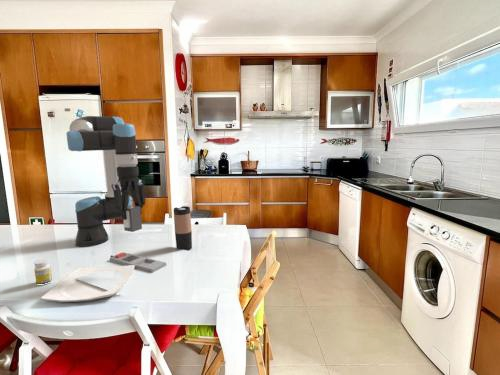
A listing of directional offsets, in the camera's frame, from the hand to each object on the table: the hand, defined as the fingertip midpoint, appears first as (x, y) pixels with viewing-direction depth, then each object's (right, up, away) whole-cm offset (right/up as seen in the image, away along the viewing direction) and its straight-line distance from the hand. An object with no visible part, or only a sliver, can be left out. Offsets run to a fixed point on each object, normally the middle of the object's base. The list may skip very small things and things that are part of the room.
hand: (132, 225), depth 110 cm
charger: (0, -2, 0) cm, 2 cm away
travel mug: (+14, -15, +25) cm, 33 cm away
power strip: (-3, -18, +9) cm, 20 cm away
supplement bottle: (-30, -21, -5) cm, 37 cm away
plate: (-10, -21, -8) cm, 25 cm away
